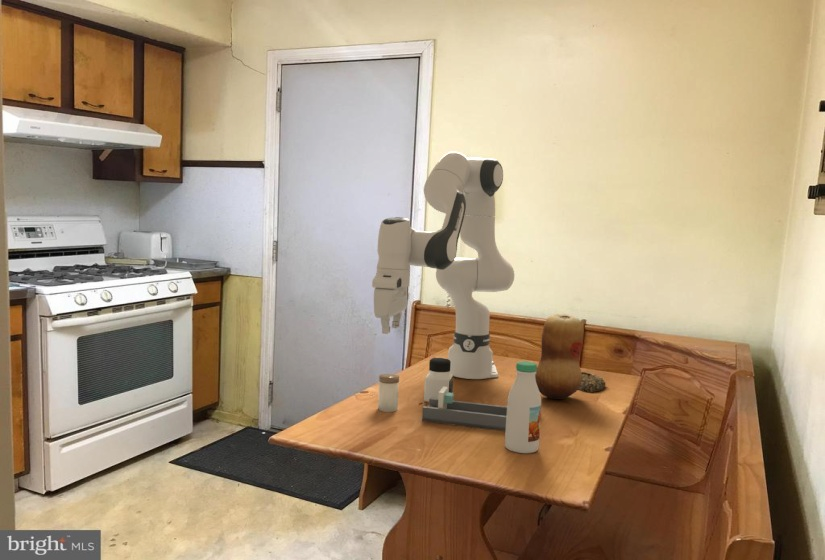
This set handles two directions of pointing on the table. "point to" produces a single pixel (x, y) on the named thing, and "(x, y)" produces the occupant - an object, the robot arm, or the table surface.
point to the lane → (466, 414)
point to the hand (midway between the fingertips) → (390, 330)
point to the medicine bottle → (438, 378)
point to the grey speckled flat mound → (591, 383)
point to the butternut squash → (560, 357)
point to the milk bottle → (523, 411)
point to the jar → (388, 392)
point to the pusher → (445, 398)
